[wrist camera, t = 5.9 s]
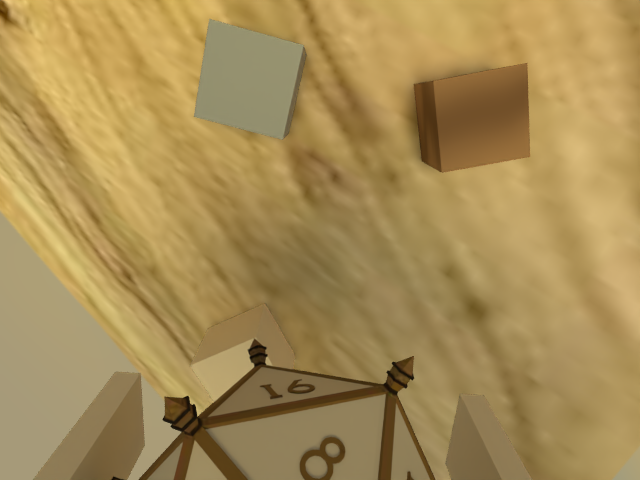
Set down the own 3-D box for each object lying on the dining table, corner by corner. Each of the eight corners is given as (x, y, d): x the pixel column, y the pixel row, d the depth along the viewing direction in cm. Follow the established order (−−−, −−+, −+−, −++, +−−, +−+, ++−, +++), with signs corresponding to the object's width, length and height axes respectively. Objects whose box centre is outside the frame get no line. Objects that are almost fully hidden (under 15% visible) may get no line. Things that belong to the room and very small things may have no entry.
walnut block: (495, 147, 29) (529, 156, 24) (421, 160, 29) (441, 172, 24) (490, 69, 27) (527, 62, 23) (413, 84, 28) (433, 81, 23)
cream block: (294, 353, 34) (290, 395, 29) (239, 377, 35) (226, 421, 30) (265, 302, 32) (255, 337, 28) (208, 327, 33) (189, 365, 28)
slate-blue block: (288, 133, 29) (282, 139, 24) (215, 113, 28) (193, 116, 23) (306, 54, 27) (303, 45, 22) (228, 33, 27) (209, 18, 22)
